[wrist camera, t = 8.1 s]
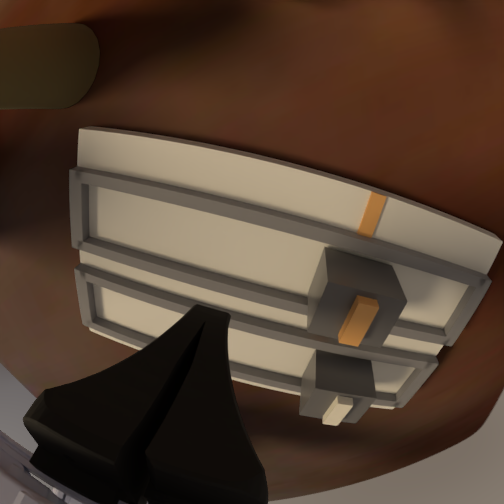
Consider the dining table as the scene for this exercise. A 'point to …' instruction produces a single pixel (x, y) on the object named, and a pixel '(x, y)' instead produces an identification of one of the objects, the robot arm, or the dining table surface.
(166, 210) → the console board
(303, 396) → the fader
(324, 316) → the fader tab
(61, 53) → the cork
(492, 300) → the dining table surface
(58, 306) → the dining table surface
